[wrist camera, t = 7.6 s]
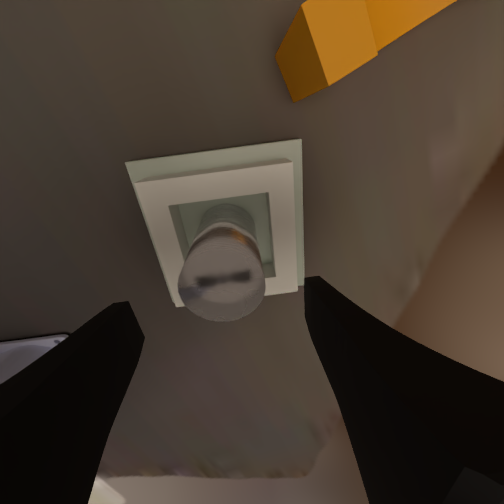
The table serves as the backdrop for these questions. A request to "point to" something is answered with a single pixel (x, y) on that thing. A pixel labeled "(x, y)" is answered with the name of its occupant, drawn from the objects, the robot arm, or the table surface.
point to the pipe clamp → (343, 38)
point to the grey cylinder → (223, 266)
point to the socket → (226, 191)
